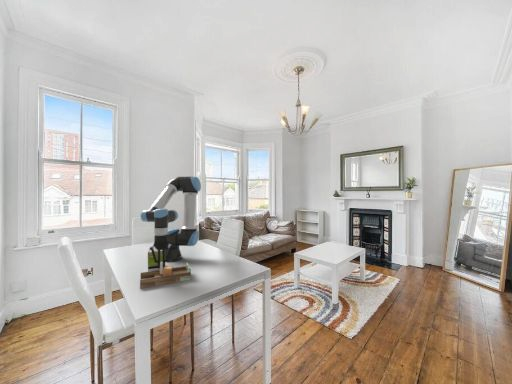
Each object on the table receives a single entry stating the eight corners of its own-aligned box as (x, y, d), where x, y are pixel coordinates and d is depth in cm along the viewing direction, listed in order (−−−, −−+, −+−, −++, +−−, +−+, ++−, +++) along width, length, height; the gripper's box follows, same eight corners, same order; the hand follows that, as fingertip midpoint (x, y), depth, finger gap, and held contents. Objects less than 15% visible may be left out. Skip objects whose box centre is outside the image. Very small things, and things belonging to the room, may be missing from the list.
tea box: (150, 267, 152) (149, 246, 152) (165, 265, 156) (165, 244, 156) (147, 275, 138) (147, 251, 138) (164, 272, 142) (164, 250, 142)
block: (162, 273, 134) (162, 267, 134) (171, 272, 136) (171, 265, 136) (162, 276, 130) (162, 269, 130) (171, 275, 132) (171, 268, 132)
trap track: (140, 280, 130) (140, 269, 130) (187, 272, 142) (187, 262, 142) (140, 288, 120) (139, 276, 120) (190, 279, 132) (190, 268, 132)
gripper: (149, 236, 125) (149, 277, 126) (173, 234, 131) (173, 273, 131) (149, 234, 132) (149, 272, 132) (172, 232, 138) (172, 269, 138)
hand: (161, 273), depth 132 cm, fingers closed
